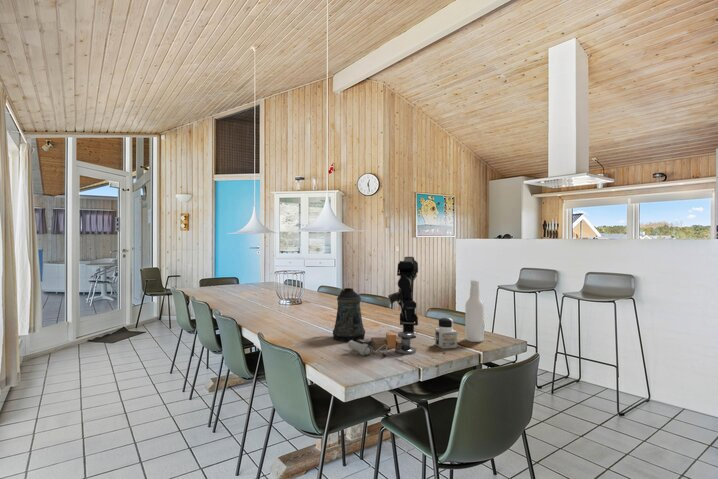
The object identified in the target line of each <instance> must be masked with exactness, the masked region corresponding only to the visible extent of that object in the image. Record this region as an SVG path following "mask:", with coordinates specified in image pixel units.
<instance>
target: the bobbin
mask: <svg viewBox="0 0 718 479" xmlns="http://www.w3.org/2000/svg"><path fill="white" fill-rule="evenodd" d="M414 335H415V332H414V333H411V332H403V331H400V332H398V333H397V337H401V347H397V346H396V348H395V353H397V354H401V355H413V354H416V352H417V349H416V348H415V347H412V346H411V337H414Z"/></svg>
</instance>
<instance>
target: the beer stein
mask: <svg viewBox="0 0 718 479" xmlns="http://www.w3.org/2000/svg"><path fill="white" fill-rule="evenodd" d="M336 300H337V311H336V317H335V324H334V326H333V329H332V335H333V340H335V341H337V342H342V343H348V342H349V341H351V340H352V341H356V340H357V339H358V338H359V339H362V340H364V339H365V335H366V329H365V326H364V324H363V319H362V312H361V311H362V310H361V301H362V297H361V296H360V295H359V294H358V293H357V292H356V291H354V289H353V288H350V287H349V288H348V287H346V288H344V290H341V291H340V293H339V295H338V296H337V297H336Z"/></svg>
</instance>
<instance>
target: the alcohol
mask: <svg viewBox="0 0 718 479" xmlns="http://www.w3.org/2000/svg"><path fill="white" fill-rule="evenodd" d="M479 285H480V283H479V280H478V279H471V280H470V289H469V290H470V292H469V297H468V299H467V301H466V302H465V315H464V316H465V317H464V318H465V319H464V320H465V324H464V325H465V328H464V330H465V336H464V337H465V341H467V342H471V343H482V342H483V341H484V339H485V337H484V336H485V335H484V334H485V332H484V331H485V330H484V329H485V326H484V324H485V311H484V310H485V306H484V303H483V301H482V299H481V297H480V287H479Z"/></svg>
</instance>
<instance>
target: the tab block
mask: <svg viewBox="0 0 718 479" xmlns="http://www.w3.org/2000/svg"><path fill="white" fill-rule="evenodd" d="M385 337H386V345H387V349H396V348H397V346H396V337H397V335H396V333H395V332H386V333H385Z"/></svg>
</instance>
